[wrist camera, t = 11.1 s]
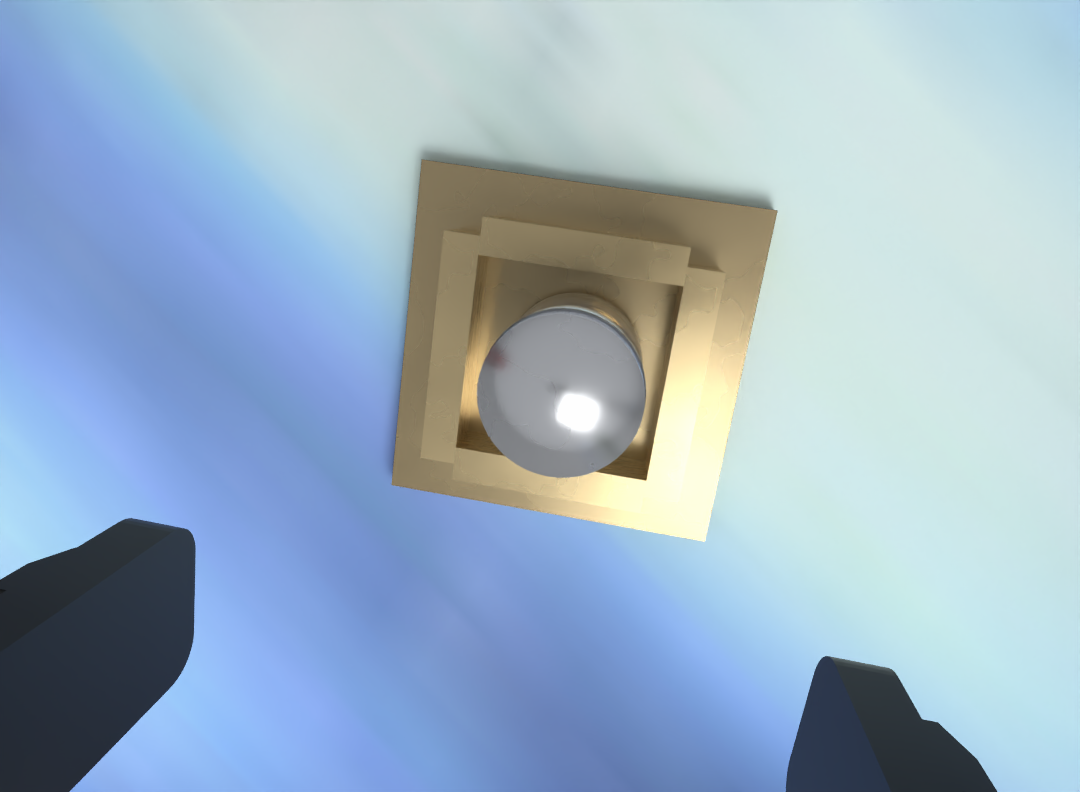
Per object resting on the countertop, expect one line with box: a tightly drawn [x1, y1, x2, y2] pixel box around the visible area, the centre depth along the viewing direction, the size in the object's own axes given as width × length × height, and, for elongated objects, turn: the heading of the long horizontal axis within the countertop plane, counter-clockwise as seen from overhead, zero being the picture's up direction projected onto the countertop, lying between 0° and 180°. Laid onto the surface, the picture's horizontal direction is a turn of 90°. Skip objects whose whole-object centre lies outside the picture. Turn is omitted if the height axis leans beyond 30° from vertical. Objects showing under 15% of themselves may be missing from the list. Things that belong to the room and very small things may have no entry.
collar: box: [392, 160, 777, 541], centre depth 25 cm, size 12×12×3 cm
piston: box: [477, 293, 646, 478], centre depth 23 cm, size 5×5×5 cm
